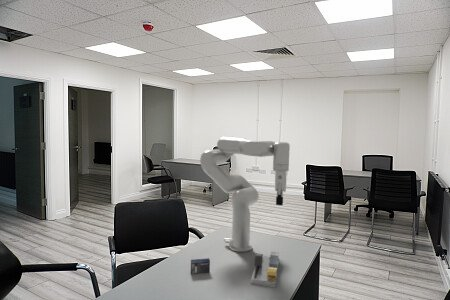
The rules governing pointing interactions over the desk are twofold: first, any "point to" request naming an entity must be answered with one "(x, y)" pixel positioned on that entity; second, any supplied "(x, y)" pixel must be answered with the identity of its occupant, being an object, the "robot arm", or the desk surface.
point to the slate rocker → (274, 259)
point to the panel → (264, 274)
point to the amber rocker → (271, 271)
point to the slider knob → (258, 259)
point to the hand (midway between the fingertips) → (279, 204)
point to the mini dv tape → (200, 266)
